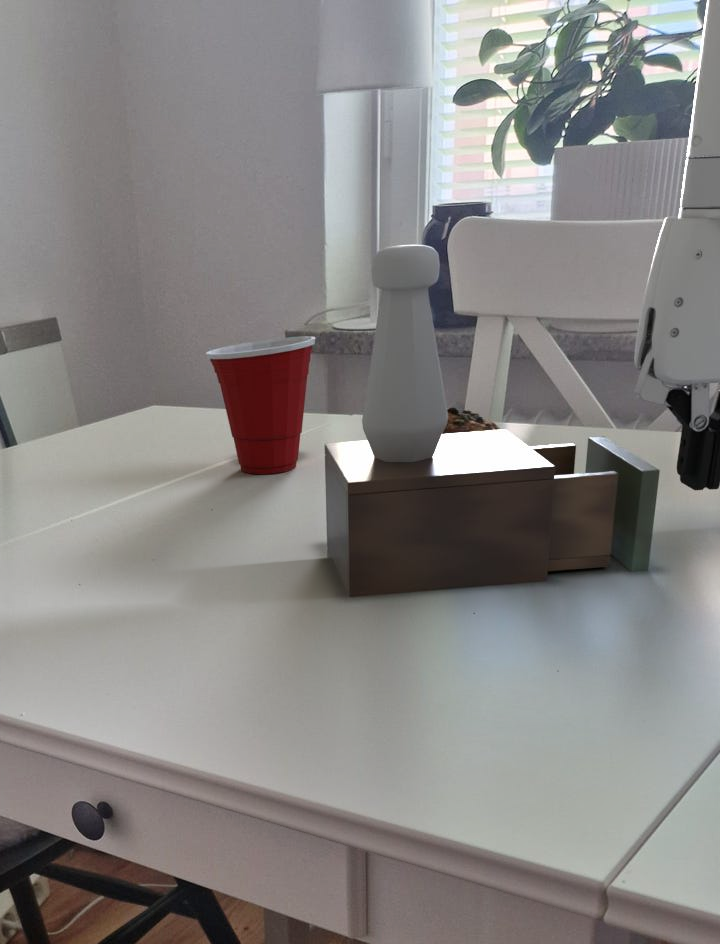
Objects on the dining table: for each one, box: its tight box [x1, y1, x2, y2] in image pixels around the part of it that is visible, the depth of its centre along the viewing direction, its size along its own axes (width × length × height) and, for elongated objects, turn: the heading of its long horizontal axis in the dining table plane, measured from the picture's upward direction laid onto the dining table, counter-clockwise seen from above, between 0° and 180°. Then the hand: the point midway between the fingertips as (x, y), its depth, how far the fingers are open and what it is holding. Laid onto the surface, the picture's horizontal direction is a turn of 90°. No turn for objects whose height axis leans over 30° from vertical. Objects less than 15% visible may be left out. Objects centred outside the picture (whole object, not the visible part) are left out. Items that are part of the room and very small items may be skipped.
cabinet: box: [324, 429, 555, 598], centre depth 83 cm, size 14×13×9 cm
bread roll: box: [442, 406, 501, 434], centre depth 119 cm, size 11×11×5 cm
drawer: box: [529, 435, 661, 573], centre depth 83 cm, size 14×11×7 cm
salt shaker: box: [361, 244, 448, 462], centre depth 77 cm, size 6×6×13 cm
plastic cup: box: [205, 335, 316, 475], centre depth 115 cm, size 11×11×12 cm
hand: (698, 485), depth 83 cm, fingers closed
